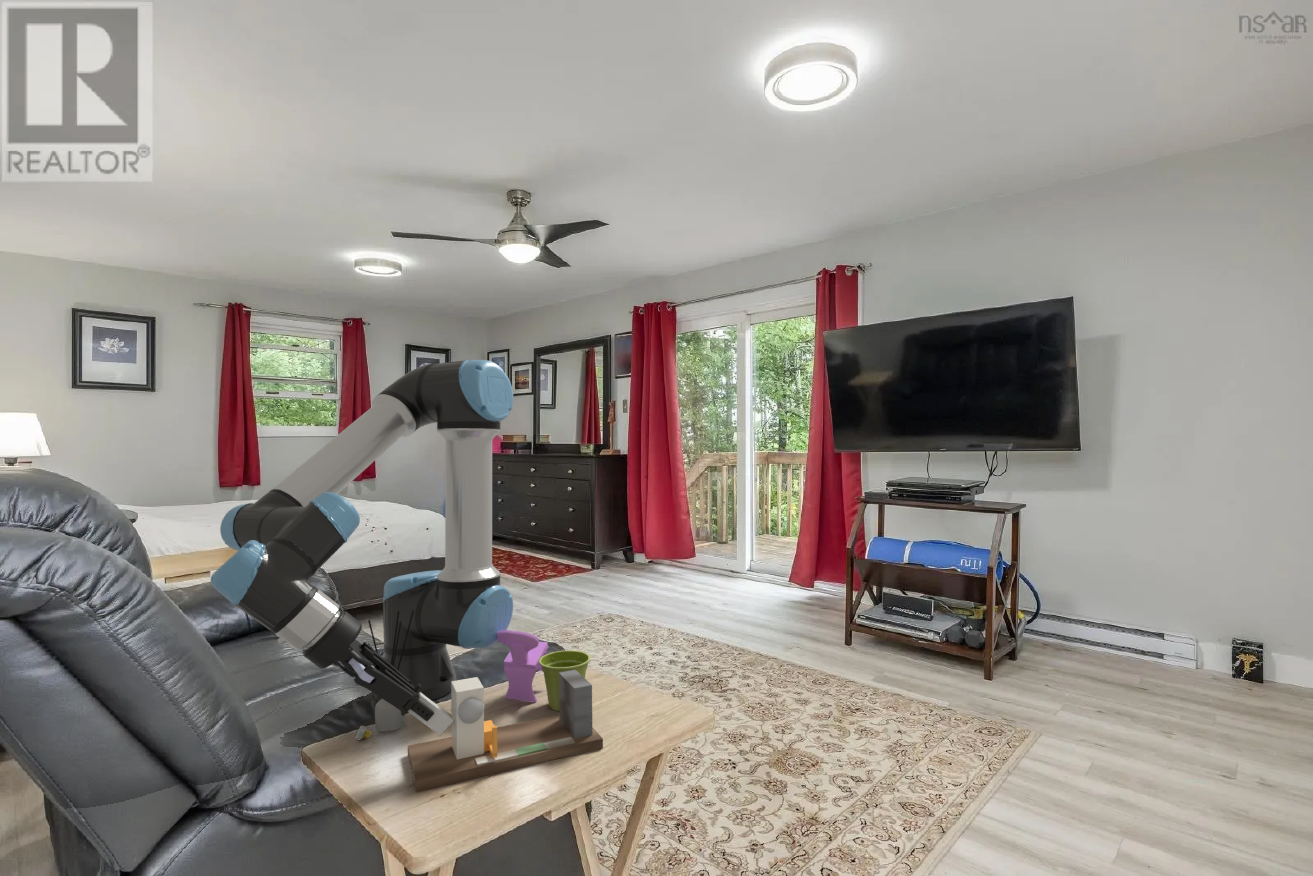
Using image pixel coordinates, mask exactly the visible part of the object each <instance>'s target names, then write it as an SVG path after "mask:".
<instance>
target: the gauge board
mask: <svg viewBox="0 0 1313 876" xmlns="http://www.w3.org/2000/svg"><path fill="white" fill-rule="evenodd" d="M601 749H604V738H603V737H602V735H600V734H599V733H598V731H596V729H595V728H594V727H593V684H592V683H590V682H589V681H588V680H587V679H586V677H585V678H584V677H583V676H582V675H581V674H580V673H579V672H577V671H576V670H571V671H565V672H560V673H559V711H558V714H557V715H556V714H555V715H551V716H547V717H541V718H535V719H532V720H527V721H522V722H517V723H512V724H507V725H502V726H497V757H496V758H493V757H492V755H491V753H490V751H487V752H484V754H481V755H476V756H472V757H467V758H462V759H458V760H457V758H456V756H455V753H454V751H453V748H452V736H448V737H444V738H438V739H434V740H429V741H424V742H420V743H419V742H418V743H414V744H409V745H407V757H409V758H408V763H409V766H411V767H410V771H411V770H412V771H411V774H412V775H413V776H412V779H414V780H413V784H415V785H414V789H415V793H419V792H422V791H427V790H431V789H435V788H439V787H443V786H448V785H453V784H456V783H460V782H465V781H469V780H472V779H478V778H482V777H487V776H490V775H494V774H498V773H503V772H507V771H511V770H515V769H518V768H519V769H520V768H525V767H528V766H533V765H536V764H541V763H545V762H548V761H554V760H557V759H561V758H566V757H570V756H574V755H579V754H583V753H587V752H591V751H596V750H601Z"/></svg>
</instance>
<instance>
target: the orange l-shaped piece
mask: <svg viewBox="0 0 1313 876" xmlns="http://www.w3.org/2000/svg"><path fill="white" fill-rule="evenodd" d="M497 727H498V726H497V725H495V724H494V723H493V721H492V719H490V720H484V752H487V751H490V753H491V755H492V757H493V758H496V757H497Z"/></svg>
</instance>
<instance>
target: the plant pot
mask: <svg viewBox="0 0 1313 876" xmlns="http://www.w3.org/2000/svg"><path fill="white" fill-rule="evenodd" d="M590 661H591V655H590V654H588V652H585V651H581V650H580V651H579V650H571V649H570V650H558V651H553V652H549V653H547V654H546V655H544V656H542V657H541V658H540V660H539V663H540V665H541V666H542V671H541V672H543V676H544V683H545V687H546V690H545V691H546V695H547V702H548V706H549V707H550V708H551V710H554V711H557V712H559V673H560V672H565V671H571V670H576V671H577V672H579V673H580V674H581V675H582V676H583V677H584V678H585V679H586V673H587V669H588V667H589V666H588V665H589V663H590Z"/></svg>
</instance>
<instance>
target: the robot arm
mask: <svg viewBox="0 0 1313 876" xmlns="http://www.w3.org/2000/svg"><path fill="white" fill-rule="evenodd" d="M513 406H514V391H513V386H512V384H511V381H510V379H509V376H508V375H507V374H506V373H505V371H504V370H503V368H502V367H501V366H500V365H498V364H497V363H495V362H493V361H491V360H486V359H465V360H458V361H448V362H447V361H446V362H440V363H437V362H435V363H428V364H427V363H426V364H425V365H421V366H418V367H416V368H415V369H413V370H411V371H409V372H407V373H405V374H404V375H403V376H401V377H399V378H398V379H396V380H395V381H394V382H393V383H391V384H389V385H388V386H387V387H386V388H385V389H383V390H382V391H381V392H380V393H378V394H376V396H374V397H373V399H372V401H371V407H370V408H369V409H368V410H367V411H365V412H364V413H363V414H362V415H360V416H359V417H357V418H356V419H355V420H354V421H353V422H351V423H350V424H349V425H348V426H347V427H346V428H344V429H343V430H342V431H341V432H340V433H338V434H337V435H336V436H335V437H333V439H331V440H329V442H327V443H326V444H325V445H324V446H322V447H321V448H320V449H319V450H318V451H316V452H315V453H314V454H313V455H312V456H310V457H309V458H308V459H306V461H304V462H303V463H302V464H301V465H300V466H299V467H297V468H296V469H295V470H293V471H292V472H291V473H289V475H287V476H286V477H285V478H284V479H283V480H281V481H280V482H279V483H278V484H276V486H274V487H272V488H271V489H270V490H269V491H267V493H265V494H264V495H263V496H262V497H260V498H259V499H257V501H255V502H254V503H253V502H249V503H244V504H240V505H236V506H234V507H232V508H231V509H230V510H228V511H227V512H226V513H225V515H224V516H223V518H222V520H221V523H220V528H219V529H220V530H219V531H220V536H221V539H222V540H223V542H224V544H225V545H227V546H228V547H229V548H230V549H232V550H235V551H236V552H235V553H234V554H232V556H230V558H228V559H227V560H226V561H225V562H224V563H223V564H222V565H220V567H218V568H217V569H216V570H215V571H214V572H213V574H211V577H210V585H211V586H212V587H213V588H214V589H215V590H216V591H217V592H218V593H219V594H221V595H222V596H223V597H224V598H225V599H226V600H228V602H230V603H231V605H233V606H234V607H236V608H238V609H239V610H241V611H243V612H244V613H245V614H246V615H248V616H249V617H251V618H252V619H254V620H255V621H256V622H257V623H260V625H261V626H264V627H265V628H266V629H268V630H269V631H271V632H272V633H273V634H275V636H277V637H278V639H277V643H278V644H280V645H283V644H285V643H287V645H289V646H290V647H292V649H294V650H296V651H301V650H303V651H302V656H303V657H305V658H306V660H308V661H310V662H311V663H312V664H313V665H315V666H316V667H317V668H319V669H326V668H329V667H330V666H331V665H333V663H335V662H337V661H338V662H340V664H341V665H343V667H344V668H343V672H344V673H345V674H347V675H349V676H350V677H351V678H354V679H353V681H354V683H355V684H356V685H359V686H360V687H363V688H365V689H367V690H368V691H369V692H372V693H373V696H374V699H375V700H376V701H377V702H379V701H380V700H381V699H384V700H385V701H387V702H388V703H390V704H391V705H393V706H394V707H396V708H397V709H399V710H400V711H401V715H403V716H404V715H406V714H407V713H409V714H411V715H413V717H415V718H416V719H417V720H419V721H420V722H421V723H422V724H424V725H425V726H426V727H428V728H429V729H431V730H432V731H433V732H434V733H436V734H437V735H438V736H440V737H441V736H442V734H443V733H444V732H445V731H446V730H447V729H448V727H450V726H451V725H452V722H453V718H452V716H451V714H449V713H448V712H447V711H445V709H443V708H441V707H440V705H437V703H435V702H434V701H433V700H436V699H440V698H442V697H444V696H446V695H448V694H451V681H457V680H456V679H457V678H456V676H457V675H456V672H455V669H454V666H453V663H452V660H451V658H450V655H449V650H448V647H447V645H450V646H455V647H460V648H463V649H466V650H468V649H469V650H471V649H476V650H483V649H484V650H485V649H488V648H490V647H492V646H494V645H495V644H496V643H498V642H499V641H498V640H497V633H498V632H499V631H502V630H508V628H509V625H510V623H511V621H512V617H513V613H514V600H513V595H512V594H511V592H510V590H509V589H507V587H505V586H503V585H501V572H500V571H499V569H497V568H496V567H495V566H494V564H493V440H494V438H495V437H496V436H497V435H498V434H499V433H500V432H501V421H504V420H505V419H506V418H508V416H509V415H510V412H511V411H512V409H513ZM435 423H436V430H437V431H436V432H437V433H439V434H440V435H441V436H442V438H444V440H445V483H444V484H445V486H444V487H445V492H444V494H445V499H444V501H445V505H444V506H445V508H444V509H445V511H444V514H445V515H444V517H445V519H444V520H445V521H444V522H445V526H444V529H445V530H444V533H445V537H444V538H445V539H444V543H445V544H444V545H445V546H444V547H445V548H444V551H445V552H444V553H445V554H444V558H445V559H444V560H445V561H444V568H443V569H442V570H441V569H440V570H439V569H438V570H436V569H435V570H427V571H419V572H414V573H413V572H412V573H407V574H404V575H398V576H395V577H391V578H390V579H388V580H387V581H386V582H385V583H384V585H383V586H384V587H383V598H382V613H383V614H382V617H383V618H382V619H383V620H382V622H383V623H382V625H383V656H382V655H381V654H380V653H379V652H378V653H377V652H376V650H375V648H373V646H372V645H371V644H370V643H369V642H367V641H363V642H362V643H361V642H360V641H359V640H357V638H358V637H359V635H360V634H361V631H362V629H363V628H362V626H363V624H362V623H361V622H360V621H359V620H357V619H356V618H355V617H354V616H352V615H351V614H350V613H348V612H347V611H346V610H340V604H338V603H337V602H336V601H334V600H333V599H332V598H331V597H330V596H328V595H327V594H325V593H324V592H323V591H322V590H321V589H319V588H317V586H314V585H313V584H312V583H311V582H310V581H309V580H310V579H311V578H312V577H313V576H314V575H315V574H316V573H317V571H319V570H320V568H321V567H322V566H324V564H326V562H328V560H329V559H330V558H331V557H332V556H333V555H335V553H336V552H337V551H338V550H339V549H340V548H341V547H342V546H343V545H344V544H345V543H347V542H348V540H349V538H350V536H352V534H353V533H354V532H355V531H356V529H357V528H358V527H359V525H360V523H361V522H360V521H361V518H360V515H359V514H360V513H359V512H358V510H357V509H356V508H355V506H354V505H353V504H352V503H351V501H349V500H348V499H346V498H345V497H344V496H342V495H340V494H339V493H341V491H343V490H344V489H346V487H348V486H349V484H351V482H353V481H354V480H355V479H356V478H357V477H359V476H360V475H361V474H362V473H363V472H364V471H365V470H366V469H368V468H369V466H370V465H372V464H373V462H375V461H376V460H377V459H378V458H379V457H380V456H382V454H383V453H385V452H386V451H387V450H388V449H389V448H390V447H392V445H394V444H395V443H396V442H397V441H398V440H399V439H400V438H401V437H403V438H406V437H410V436H412V435H413V434H414V433H415V432H417V430H419V429H420V428H422V427H424V426H427V425H431V424H435ZM398 611H399V618H398V626H397V633H396V641H397V635H398V630H399V624H400V621H401V628H400V633H399V639H398V645H397V651H396V657H395V662H394V666H392V665H391V659H392V651H393V644H394V636H395V629H396V621H397V613H398ZM412 611H414V613H413V617H412V620H411V624H410V628H409V632H408V636H407V640H406V643H405V647H404V651H403V655H402V659H401V663H400V667H399V670H397V668H398V664H399V660H400V656H401V653H402V649H403V645H404V641H405V637H406V633H407V630H408V626H409V622H410V618H411V614H412ZM396 641H395V647H396ZM394 653H395V649H394ZM393 659H394V656H393Z"/></svg>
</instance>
